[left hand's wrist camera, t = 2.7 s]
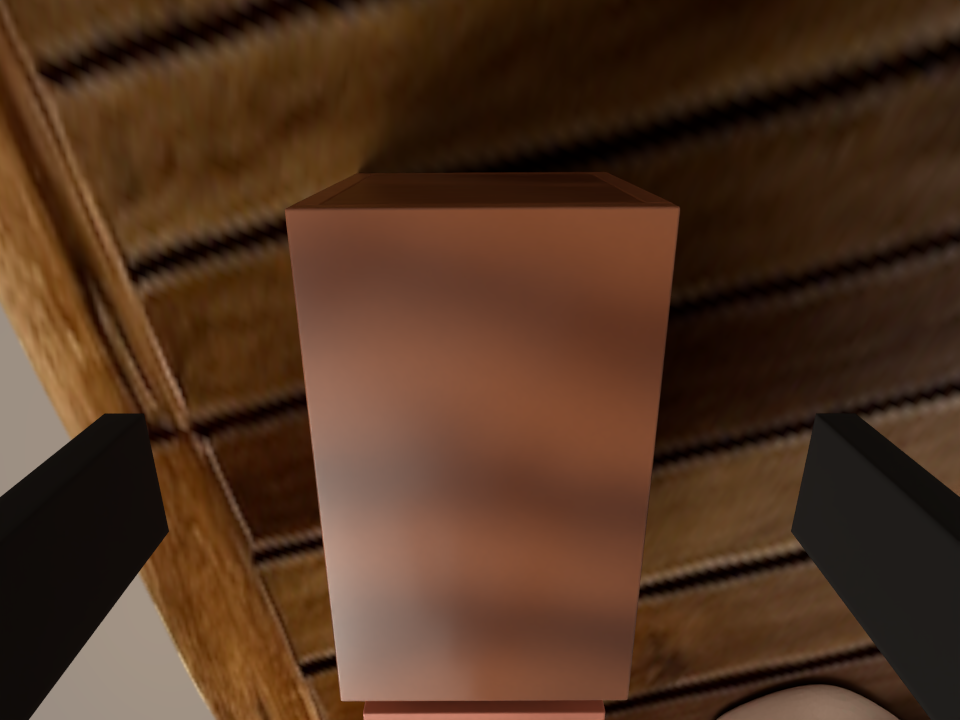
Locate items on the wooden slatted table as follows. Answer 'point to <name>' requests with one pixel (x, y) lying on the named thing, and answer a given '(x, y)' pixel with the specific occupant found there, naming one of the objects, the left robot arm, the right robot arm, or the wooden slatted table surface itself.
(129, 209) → the wooden slatted table surface
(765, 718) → the anatomical model
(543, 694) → the cabinet
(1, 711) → the left robot arm
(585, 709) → the drawer
